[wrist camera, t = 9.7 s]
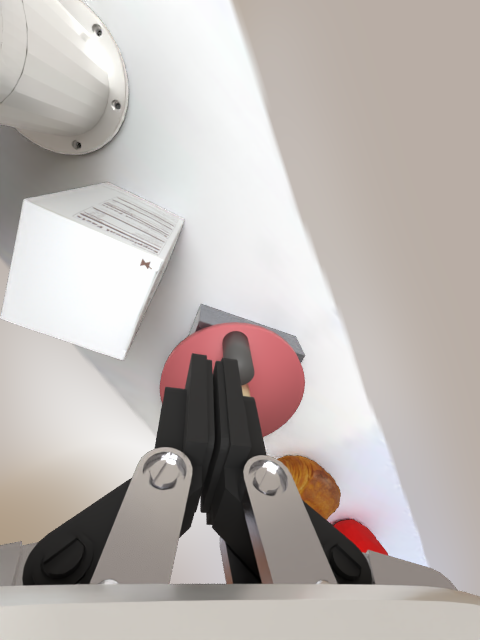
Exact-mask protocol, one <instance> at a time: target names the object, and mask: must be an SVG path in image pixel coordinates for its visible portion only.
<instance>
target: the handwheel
mask: <svg viewBox="0 0 480 640" xmlns="http://www.w3.org/2000/svg"><path fill="white" fill-rule="evenodd" d="M192 353H194V354H201V355H207V359H208V360H212V371H213V370H214V366H215V362H216V361H221V359H222V358H229V359H237V361H238V367H239V373H240V380H241V386H242V392H243V396H248V397H254V399H255V402H256V407H257V412H258V417H259V421H260V426H261V431H262V436H263V437H264V436H266V435H268V434H270V433H272V432H274V431H275V430H277V429H278V428H280V427H281V426H282V425H284V424H285V423H286V422H287V421H288V420H289V419H290V418H291V417H292V415H293V414H294V413H295V411H296V410H297V408H298V406H299V405H300V402H301V400H302V397H303V393H304V386H305V379H304V372H303V368H302V366H301V363H300V361H299V359H298V356H297V354H296V353H295V351H294V350H293V348H292V347H291V346H290V345H289V344H288V342H287V341H285V340H284V339H283V338H282V337H281V336H279V335H278V334H276V333H274V332H273V331H271V330H269V329H266V328H264V327H261V326H258V325H254V324H249V323H238V322H232V323H222V324H216V325H212V326H209V327H206V328H203V329H201V330H199V331H196V332H195V333H193V334H191V335H190V336H188V337H187V338H185V339H184V340H183V341H182V342H180V343H179V344H178V345H177V346H176V347H175V348H174V350H173V351H172V352H171V354H170V355H169V357H168V359H167V361H166V363H165V365H164V368H163V371H162V375H161V381H160V396H161V401H162V403H163V397H164V391H165V387H173V388H181V389H185V385H186V380H187V375H188V370H189V365H190V360H191V355H192Z"/></svg>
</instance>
